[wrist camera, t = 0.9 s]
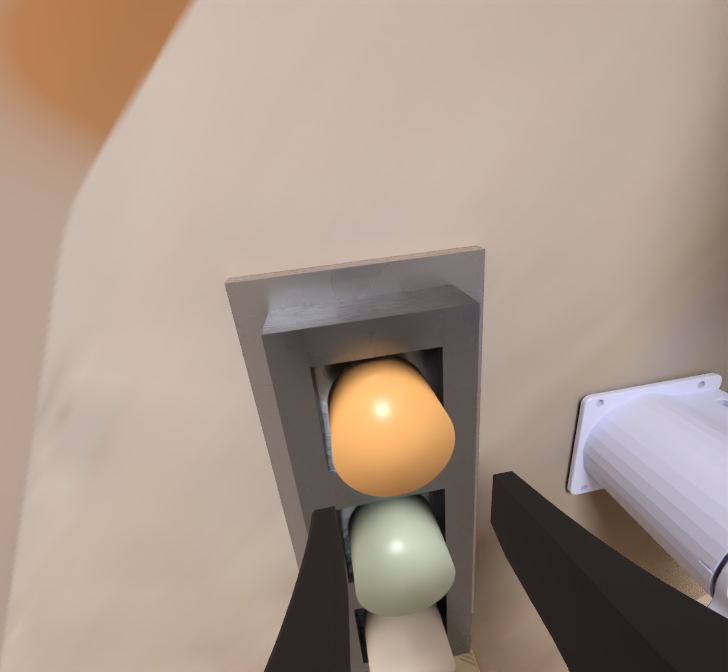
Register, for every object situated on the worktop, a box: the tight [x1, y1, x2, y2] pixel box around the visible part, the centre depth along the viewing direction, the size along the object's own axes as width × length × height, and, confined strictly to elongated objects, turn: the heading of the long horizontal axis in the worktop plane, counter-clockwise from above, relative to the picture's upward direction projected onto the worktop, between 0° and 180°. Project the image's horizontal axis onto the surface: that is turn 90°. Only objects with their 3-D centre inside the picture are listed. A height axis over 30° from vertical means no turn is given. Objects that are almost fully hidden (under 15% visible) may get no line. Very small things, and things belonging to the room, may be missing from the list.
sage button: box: [348, 494, 455, 616], centre depth 19 cm, size 5×5×3 cm
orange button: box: [327, 355, 455, 497], centre depth 15 cm, size 5×5×3 cm
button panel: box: [225, 246, 485, 672], centre depth 21 cm, size 12×28×4 cm, turn 6°
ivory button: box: [363, 603, 455, 672], centre depth 22 cm, size 5×5×3 cm
